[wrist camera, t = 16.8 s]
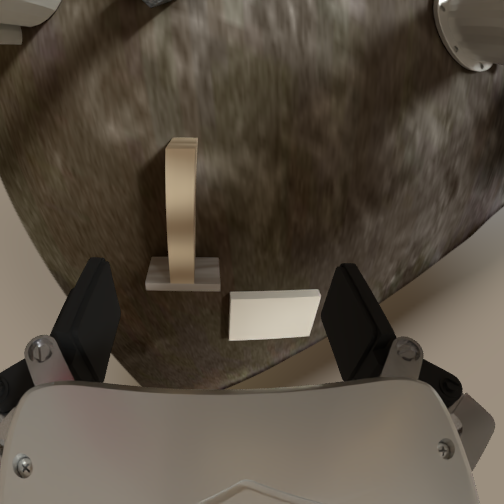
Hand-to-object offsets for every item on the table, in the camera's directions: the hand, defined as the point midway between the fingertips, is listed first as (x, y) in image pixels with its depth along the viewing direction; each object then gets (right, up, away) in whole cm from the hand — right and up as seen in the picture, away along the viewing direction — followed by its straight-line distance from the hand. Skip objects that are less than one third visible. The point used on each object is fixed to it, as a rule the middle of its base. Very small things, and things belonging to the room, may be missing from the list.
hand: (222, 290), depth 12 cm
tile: (+4, -4, +27) cm, 27 cm away
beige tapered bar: (-6, +7, +19) cm, 21 cm away
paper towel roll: (-21, +27, +3) cm, 35 cm away
